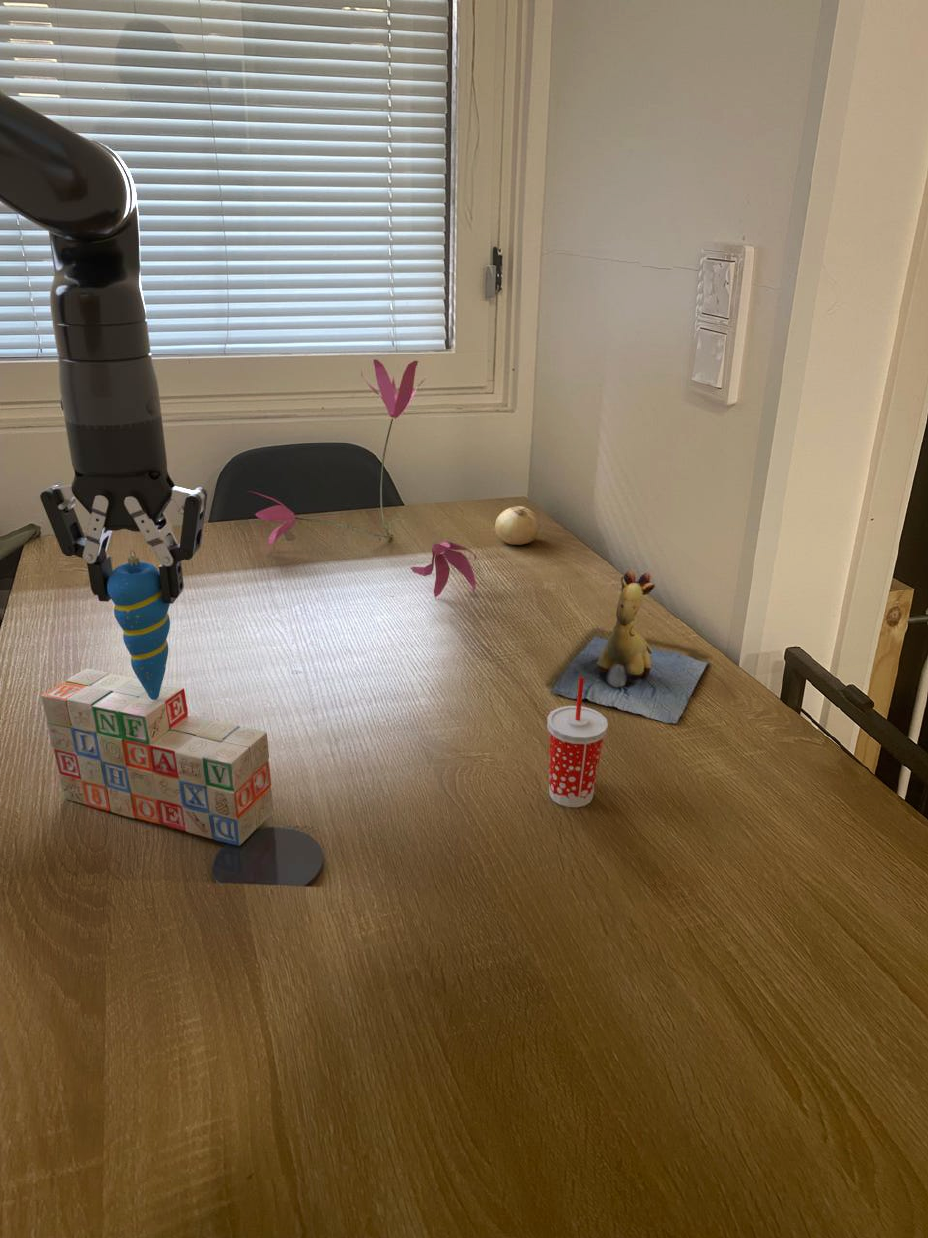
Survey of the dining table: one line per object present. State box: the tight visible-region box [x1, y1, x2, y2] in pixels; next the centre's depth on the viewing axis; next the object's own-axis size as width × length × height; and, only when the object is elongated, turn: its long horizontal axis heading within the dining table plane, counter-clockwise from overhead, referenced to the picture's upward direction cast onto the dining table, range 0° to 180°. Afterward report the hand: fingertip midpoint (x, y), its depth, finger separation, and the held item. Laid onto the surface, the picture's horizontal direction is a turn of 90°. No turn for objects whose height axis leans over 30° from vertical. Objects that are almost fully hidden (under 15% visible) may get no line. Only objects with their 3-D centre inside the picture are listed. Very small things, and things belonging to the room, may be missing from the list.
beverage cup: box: [546, 676, 609, 808], centre depth 93 cm, size 6×6×14 cm
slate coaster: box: [212, 826, 324, 887], centre depth 84 cm, size 10×10×1 cm
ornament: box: [107, 549, 171, 700], centre depth 83 cm, size 5×5×15 cm
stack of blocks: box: [41, 668, 274, 846], centre depth 89 cm, size 21×6×12 cm, turn 69°
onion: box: [494, 505, 540, 546], centre depth 163 cm, size 8×8×7 cm
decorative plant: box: [246, 359, 477, 599], centre depth 149 cm, size 38×42×30 cm
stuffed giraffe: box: [550, 570, 709, 724], centre depth 116 cm, size 16×18×16 cm
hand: (139, 598), depth 82 cm, fingers closed on ornament, 5 cm apart
